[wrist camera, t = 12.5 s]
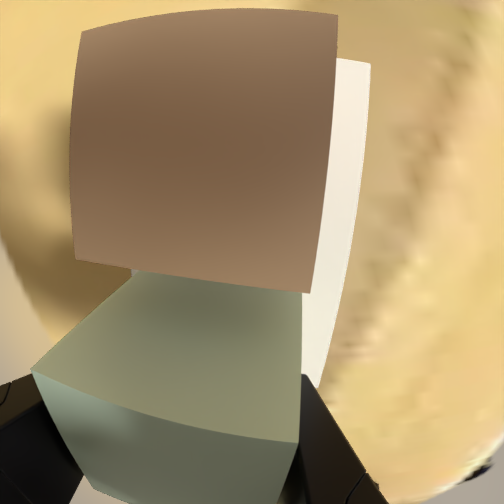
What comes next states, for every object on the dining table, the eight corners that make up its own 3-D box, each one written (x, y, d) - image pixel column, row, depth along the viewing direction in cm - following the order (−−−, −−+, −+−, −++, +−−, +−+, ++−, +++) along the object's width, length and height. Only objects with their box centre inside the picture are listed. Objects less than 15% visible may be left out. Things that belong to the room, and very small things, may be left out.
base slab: (316, 343, 14) (317, 388, 11) (166, 321, 14) (140, 358, 12) (353, 83, 10) (370, 63, 7) (171, 73, 11) (136, 56, 8)
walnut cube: (304, 223, 9) (310, 293, 5) (165, 209, 9) (75, 259, 5) (319, 78, 8) (337, 15, 3) (173, 73, 8) (81, 31, 4)
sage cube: (280, 408, 9) (263, 535, 5) (153, 384, 9) (93, 488, 5) (302, 290, 8) (298, 442, 3) (141, 268, 8) (29, 368, 4)
